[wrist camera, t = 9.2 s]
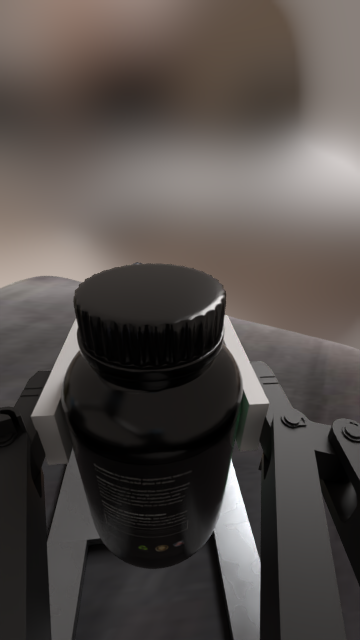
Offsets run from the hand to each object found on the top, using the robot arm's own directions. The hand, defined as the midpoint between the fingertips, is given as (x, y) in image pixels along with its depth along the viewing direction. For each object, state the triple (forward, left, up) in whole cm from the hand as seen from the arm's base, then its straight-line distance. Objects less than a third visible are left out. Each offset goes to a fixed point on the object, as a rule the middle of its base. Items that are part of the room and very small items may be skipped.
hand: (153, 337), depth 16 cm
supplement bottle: (-4, -3, -7) cm, 8 cm away
